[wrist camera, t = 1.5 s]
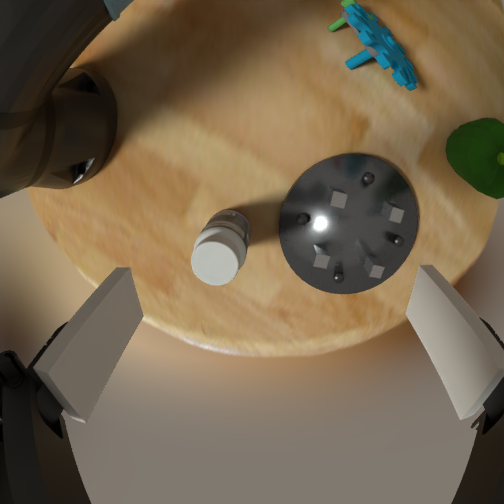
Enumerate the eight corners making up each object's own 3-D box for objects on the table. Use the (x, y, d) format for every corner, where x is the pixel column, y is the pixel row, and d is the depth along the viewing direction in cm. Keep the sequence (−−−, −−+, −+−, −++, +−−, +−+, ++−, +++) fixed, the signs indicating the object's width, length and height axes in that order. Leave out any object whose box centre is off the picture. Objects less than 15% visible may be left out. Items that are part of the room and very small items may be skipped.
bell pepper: (489, 140, 22) (543, 152, 13) (470, 194, 25) (522, 220, 16) (448, 102, 21) (504, 100, 12) (427, 161, 24) (483, 178, 15)
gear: (430, 86, 20) (407, 84, 15) (389, 104, 25) (351, 111, 20) (376, 5, 17) (330, -19, 12) (340, 28, 22) (287, 16, 17)
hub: (265, 278, 32) (265, 293, 29) (296, 137, 25) (299, 137, 22) (387, 298, 32) (395, 312, 29) (429, 178, 25) (444, 183, 22)
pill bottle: (237, 257, 31) (226, 299, 23) (200, 237, 30) (177, 273, 22) (259, 222, 29) (254, 256, 21) (220, 200, 28) (200, 226, 21)
